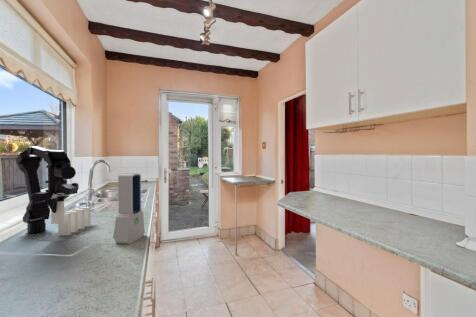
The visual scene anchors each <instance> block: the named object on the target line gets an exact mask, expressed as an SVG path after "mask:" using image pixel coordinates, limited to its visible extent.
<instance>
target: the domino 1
mask: <svg viewBox="0 0 476 317" xmlns="http://www.w3.org/2000/svg"><path fill="white" fill-rule="evenodd" d="M64 213H65V200H64V201H57V210H56V213H53V212H52V210H51V209H50V218H51V219H50V221H51V222H50V224H53V225H54V224H55V225H58V224H63V223H64Z"/></svg>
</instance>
